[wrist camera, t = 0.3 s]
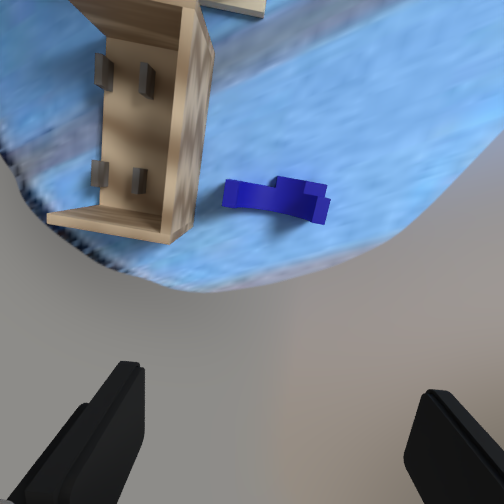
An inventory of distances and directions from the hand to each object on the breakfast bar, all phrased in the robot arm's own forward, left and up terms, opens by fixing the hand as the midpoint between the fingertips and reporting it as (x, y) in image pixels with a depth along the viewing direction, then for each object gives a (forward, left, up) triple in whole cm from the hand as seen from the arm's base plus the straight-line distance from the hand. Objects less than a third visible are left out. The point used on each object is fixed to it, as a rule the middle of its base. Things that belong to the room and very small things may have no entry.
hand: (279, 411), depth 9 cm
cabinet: (-10, -15, -30) cm, 35 cm away
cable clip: (-6, +1, -31) cm, 31 cm away
